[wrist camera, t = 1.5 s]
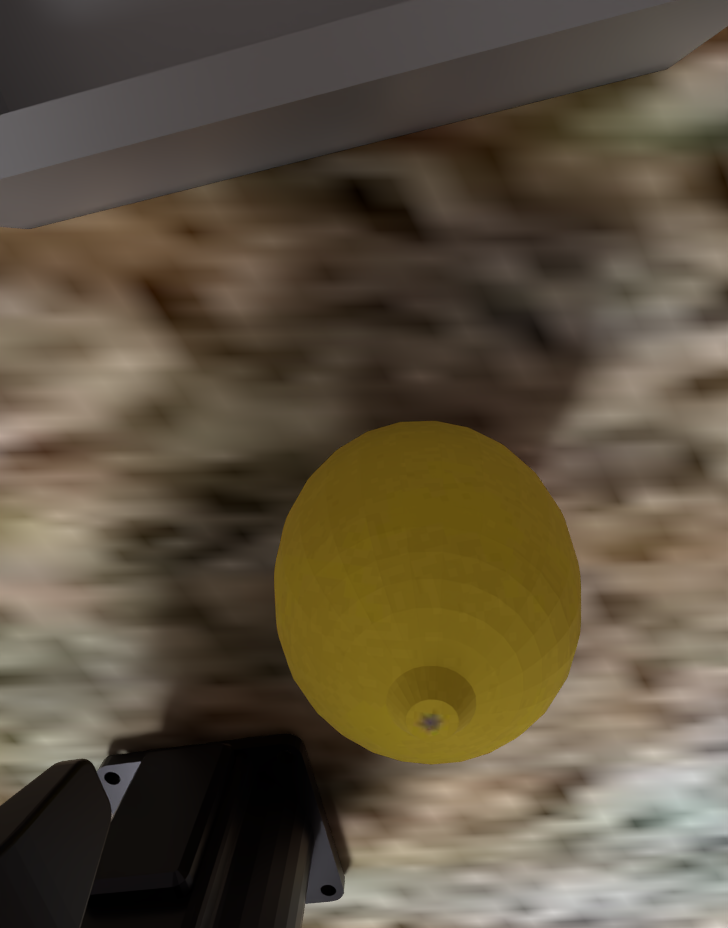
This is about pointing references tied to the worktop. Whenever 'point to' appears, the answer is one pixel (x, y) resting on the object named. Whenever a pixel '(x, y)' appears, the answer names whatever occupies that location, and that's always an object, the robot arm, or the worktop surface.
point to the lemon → (427, 593)
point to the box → (284, 82)
